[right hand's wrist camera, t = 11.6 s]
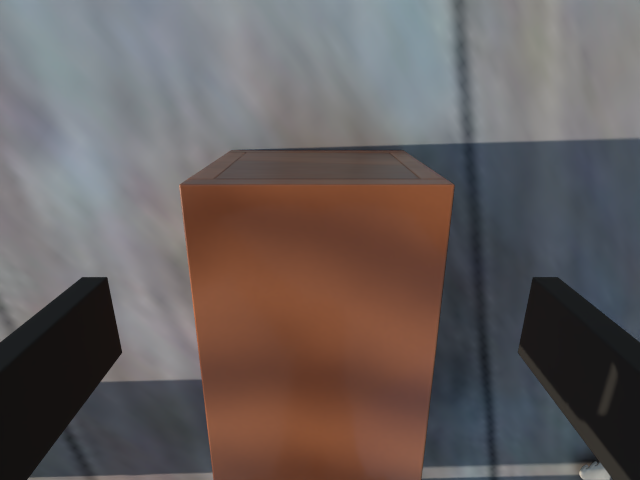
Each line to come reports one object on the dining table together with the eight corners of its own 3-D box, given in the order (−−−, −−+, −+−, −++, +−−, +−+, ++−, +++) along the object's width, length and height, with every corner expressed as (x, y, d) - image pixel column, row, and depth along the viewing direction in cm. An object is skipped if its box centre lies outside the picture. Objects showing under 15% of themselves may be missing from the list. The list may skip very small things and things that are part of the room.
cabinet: (386, 401, 31) (415, 532, 22) (248, 401, 31) (219, 533, 22) (404, 150, 25) (455, 184, 15) (230, 150, 25) (178, 184, 15)
